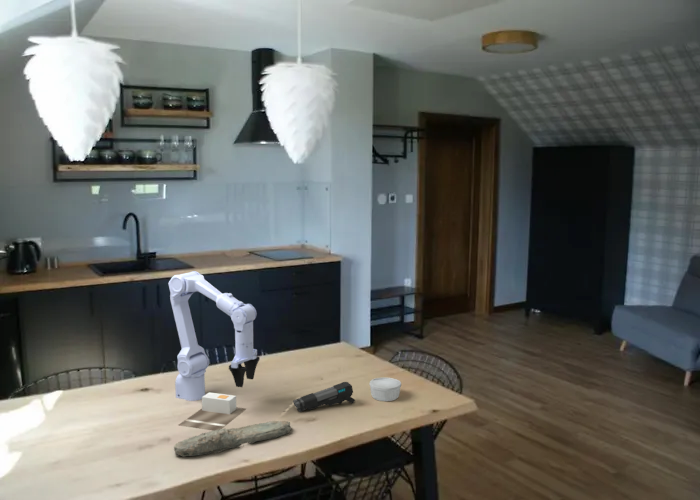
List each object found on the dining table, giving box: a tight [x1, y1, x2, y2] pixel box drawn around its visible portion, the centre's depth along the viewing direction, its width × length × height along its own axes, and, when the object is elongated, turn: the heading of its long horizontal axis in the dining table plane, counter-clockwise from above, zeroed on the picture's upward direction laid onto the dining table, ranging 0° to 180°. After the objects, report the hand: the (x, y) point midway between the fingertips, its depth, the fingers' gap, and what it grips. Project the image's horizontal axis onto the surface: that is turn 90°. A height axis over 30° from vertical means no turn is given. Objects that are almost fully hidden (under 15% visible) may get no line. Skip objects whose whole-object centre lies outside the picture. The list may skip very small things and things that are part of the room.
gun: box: [292, 381, 356, 413], centre depth 201 cm, size 4×20×10 cm, turn 113°
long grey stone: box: [173, 420, 292, 458], centre depth 174 cm, size 35×5×10 cm
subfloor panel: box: [178, 406, 247, 431], centre depth 190 cm, size 14×18×1 cm
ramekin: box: [368, 377, 402, 402], centre depth 210 cm, size 11×11×5 cm
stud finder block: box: [201, 392, 237, 414], centre depth 195 cm, size 10×4×5 cm, turn 72°
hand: (244, 382), depth 196 cm, fingers open, 7 cm apart
